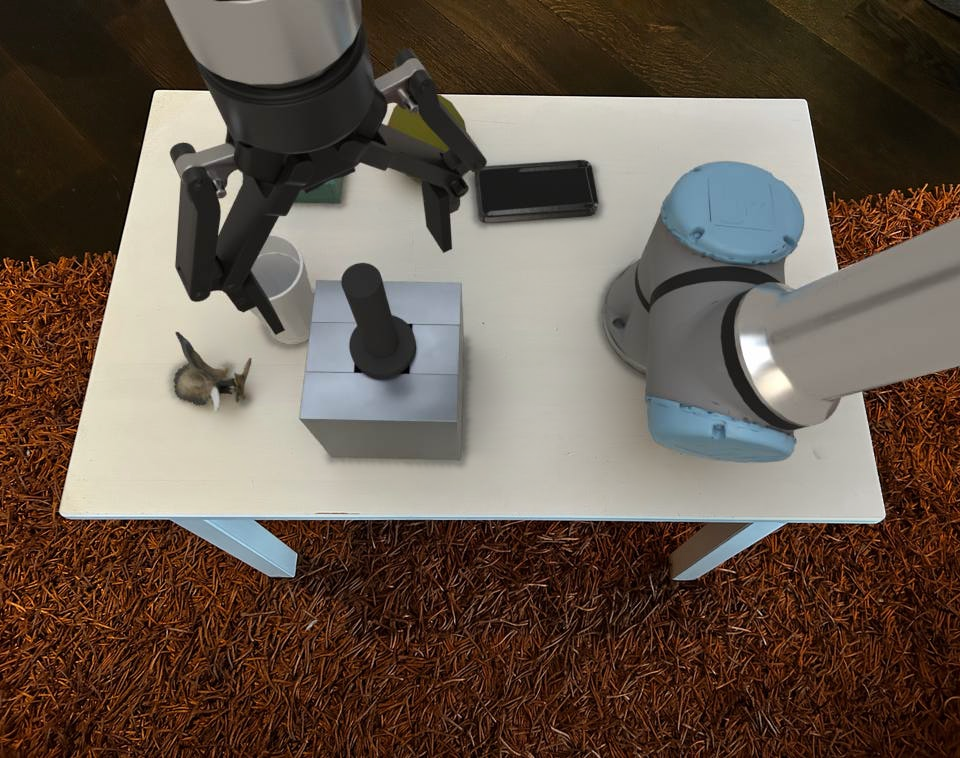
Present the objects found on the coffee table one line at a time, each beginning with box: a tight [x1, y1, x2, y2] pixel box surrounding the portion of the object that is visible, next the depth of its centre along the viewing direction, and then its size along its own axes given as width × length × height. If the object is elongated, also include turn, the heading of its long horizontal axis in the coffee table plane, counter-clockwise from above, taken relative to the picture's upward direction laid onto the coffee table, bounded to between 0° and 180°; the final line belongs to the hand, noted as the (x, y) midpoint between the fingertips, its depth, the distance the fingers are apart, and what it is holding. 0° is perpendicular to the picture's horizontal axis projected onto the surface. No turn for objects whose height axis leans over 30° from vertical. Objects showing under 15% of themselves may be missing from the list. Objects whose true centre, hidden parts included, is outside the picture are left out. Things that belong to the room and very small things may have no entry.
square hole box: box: [298, 279, 465, 461], centre depth 66 cm, size 14×14×14 cm
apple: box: [386, 93, 467, 183], centre depth 79 cm, size 10×10×11 cm
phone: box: [474, 159, 599, 223], centre depth 82 cm, size 8×1×15 cm
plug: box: [340, 262, 416, 378], centre depth 55 cm, size 6×6×15 cm
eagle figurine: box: [173, 331, 252, 413], centre depth 71 cm, size 8×7×9 cm
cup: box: [249, 232, 315, 345], centre depth 71 cm, size 8×8×12 cm
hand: (358, 277), depth 48 cm, fingers open, 13 cm apart
